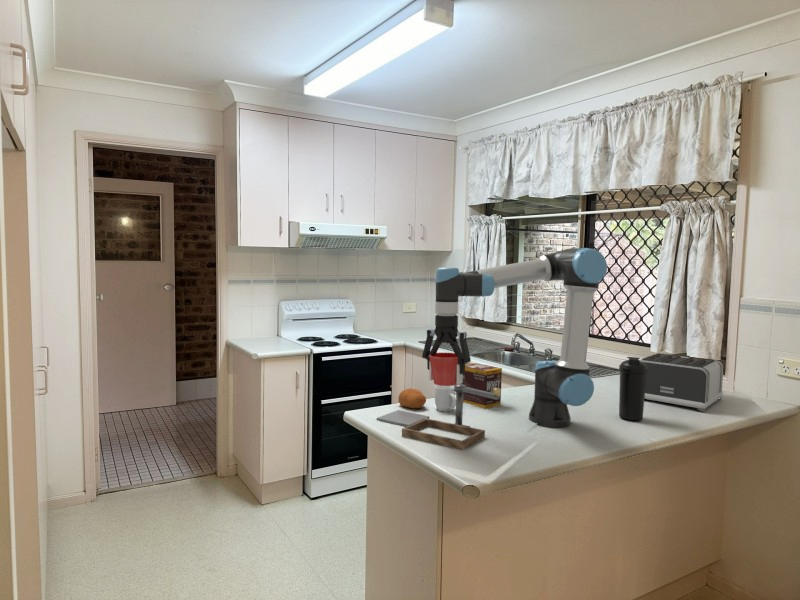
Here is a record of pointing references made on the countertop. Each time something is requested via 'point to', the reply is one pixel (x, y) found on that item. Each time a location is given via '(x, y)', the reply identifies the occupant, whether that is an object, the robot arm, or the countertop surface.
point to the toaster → (683, 380)
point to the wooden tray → (413, 433)
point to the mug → (445, 398)
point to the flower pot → (444, 368)
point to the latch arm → (478, 391)
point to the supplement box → (481, 384)
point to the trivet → (402, 418)
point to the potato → (412, 398)
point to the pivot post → (459, 408)
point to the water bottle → (632, 388)
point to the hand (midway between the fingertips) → (445, 381)
